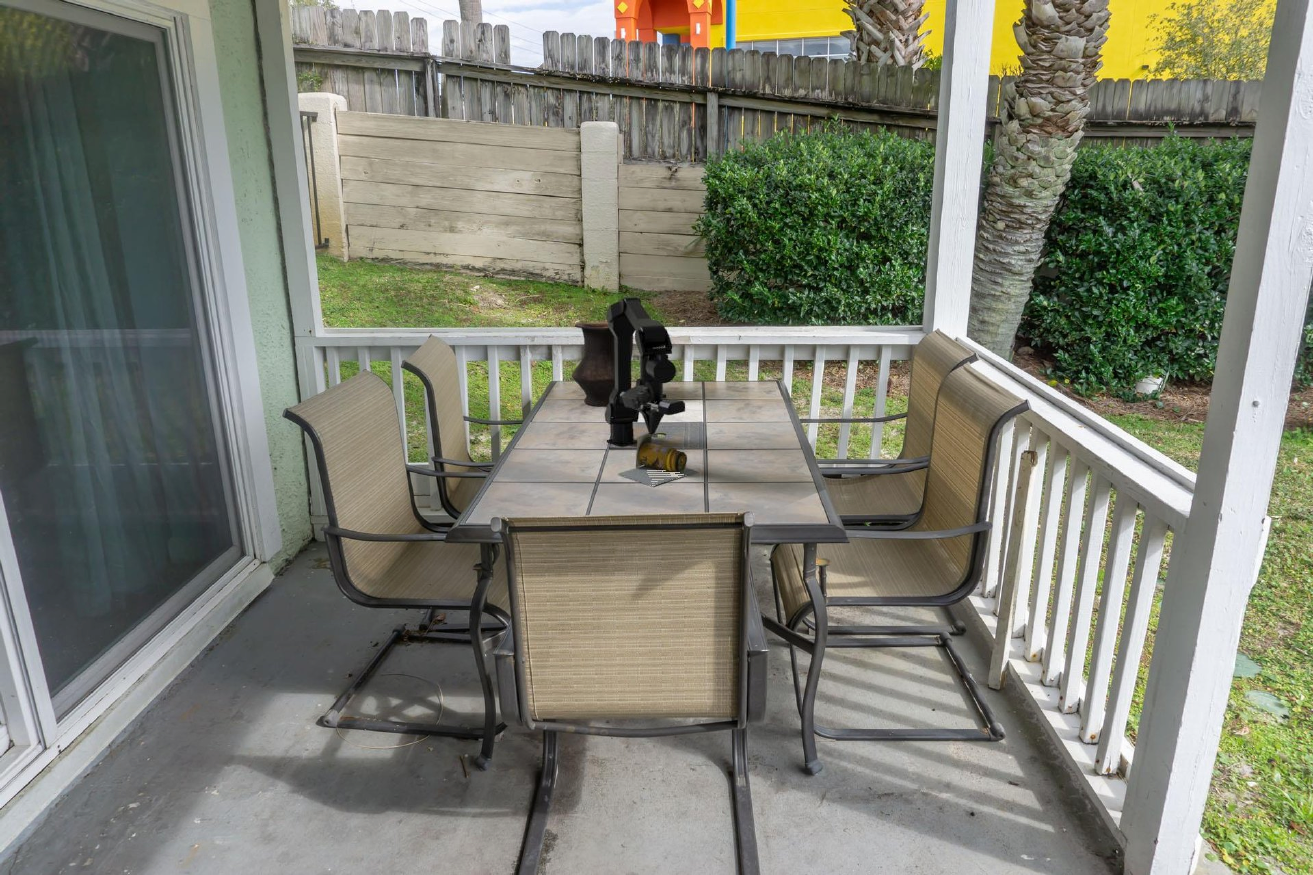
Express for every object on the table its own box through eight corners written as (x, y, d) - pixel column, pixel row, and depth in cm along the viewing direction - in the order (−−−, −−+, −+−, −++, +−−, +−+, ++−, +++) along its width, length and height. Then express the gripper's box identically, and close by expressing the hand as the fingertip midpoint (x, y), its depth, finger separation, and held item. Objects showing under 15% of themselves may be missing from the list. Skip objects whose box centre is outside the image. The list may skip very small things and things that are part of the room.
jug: (563, 407, 294) (560, 317, 286) (584, 394, 311) (581, 308, 303) (624, 412, 288) (622, 320, 280) (641, 399, 305) (641, 311, 297)
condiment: (635, 468, 232) (675, 477, 227) (637, 437, 230) (677, 445, 224) (649, 462, 238) (688, 471, 233) (651, 431, 236) (691, 440, 230)
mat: (617, 474, 229) (617, 473, 229) (661, 461, 240) (661, 460, 240) (652, 486, 220) (652, 485, 220) (697, 472, 231) (697, 471, 231)
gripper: (602, 373, 225) (604, 433, 229) (654, 385, 212) (654, 448, 216) (635, 367, 232) (635, 425, 237) (686, 378, 219) (686, 439, 224)
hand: (651, 434), depth 228 cm, fingers closed
